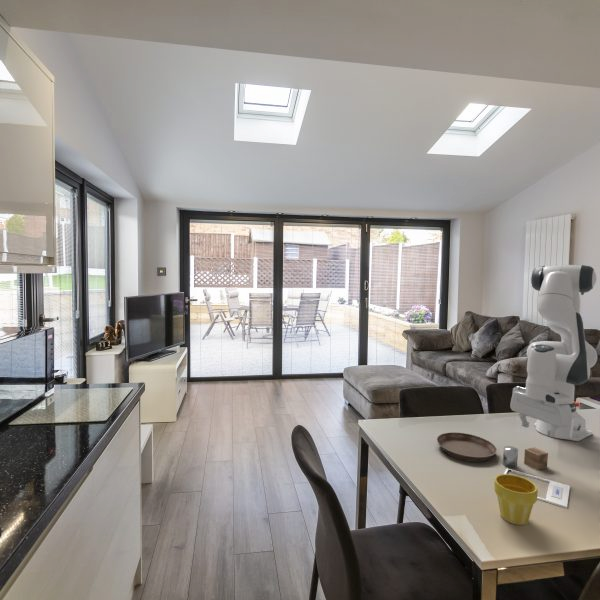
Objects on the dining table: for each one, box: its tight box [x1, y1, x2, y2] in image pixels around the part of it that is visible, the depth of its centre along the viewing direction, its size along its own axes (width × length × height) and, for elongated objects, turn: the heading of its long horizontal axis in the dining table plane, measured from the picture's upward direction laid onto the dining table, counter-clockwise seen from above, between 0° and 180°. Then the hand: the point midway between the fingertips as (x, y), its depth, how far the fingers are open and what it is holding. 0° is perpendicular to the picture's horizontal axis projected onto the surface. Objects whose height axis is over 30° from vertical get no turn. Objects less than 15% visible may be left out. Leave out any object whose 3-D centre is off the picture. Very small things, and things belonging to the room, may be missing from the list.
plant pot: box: [493, 473, 539, 526], centre depth 109 cm, size 10×10×10 cm
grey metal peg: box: [502, 445, 519, 469], centre depth 140 cm, size 4×4×6 cm
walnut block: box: [523, 446, 549, 470], centre depth 141 cm, size 5×5×5 cm
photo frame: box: [503, 467, 571, 509], centre depth 126 cm, size 15×1×18 cm
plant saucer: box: [436, 432, 498, 463], centre depth 150 cm, size 21×21×3 cm
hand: (537, 431), depth 140 cm, fingers open, 8 cm apart
